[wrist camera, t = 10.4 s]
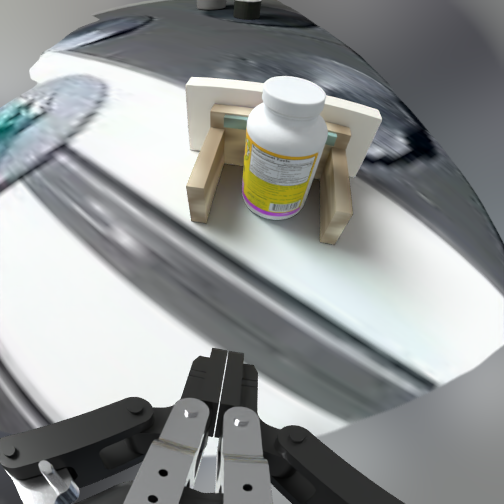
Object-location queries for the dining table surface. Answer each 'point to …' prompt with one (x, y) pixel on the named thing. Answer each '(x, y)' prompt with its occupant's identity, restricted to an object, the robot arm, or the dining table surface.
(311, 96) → the supplement bottle
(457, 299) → the dining table surface
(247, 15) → the sushi
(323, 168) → the cradle
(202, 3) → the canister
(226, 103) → the backstop board
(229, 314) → the dining table surface
